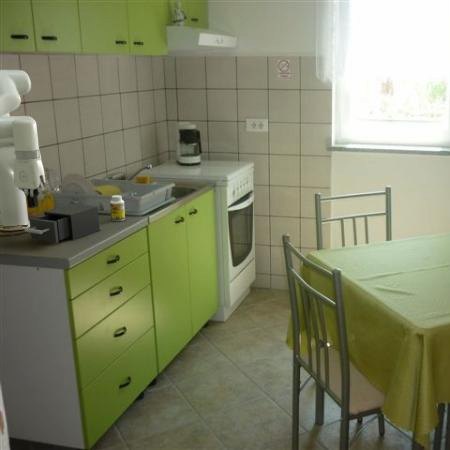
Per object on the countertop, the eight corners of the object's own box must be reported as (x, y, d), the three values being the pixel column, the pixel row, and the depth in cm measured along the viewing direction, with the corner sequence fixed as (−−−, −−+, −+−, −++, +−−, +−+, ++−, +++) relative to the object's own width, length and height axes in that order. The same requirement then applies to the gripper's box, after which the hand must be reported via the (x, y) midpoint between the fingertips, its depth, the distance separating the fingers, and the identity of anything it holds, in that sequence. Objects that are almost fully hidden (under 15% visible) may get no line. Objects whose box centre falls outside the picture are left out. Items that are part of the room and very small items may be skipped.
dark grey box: (73, 240, 216) (70, 214, 214) (46, 236, 220) (43, 211, 218) (99, 230, 229) (97, 206, 227) (74, 226, 234) (71, 203, 231)
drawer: (46, 246, 205) (44, 225, 203) (21, 243, 209) (18, 221, 207) (82, 233, 221) (80, 213, 219) (58, 230, 225) (56, 210, 223)
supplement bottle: (108, 220, 243) (106, 196, 241) (118, 217, 248) (116, 194, 245) (118, 222, 241) (116, 198, 238) (128, 219, 245) (126, 195, 243)
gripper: (2, 155, 199) (8, 207, 204) (36, 158, 194) (42, 211, 199) (19, 152, 206) (24, 202, 211) (53, 155, 201) (58, 207, 206)
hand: (33, 207), depth 205 cm, fingers closed
